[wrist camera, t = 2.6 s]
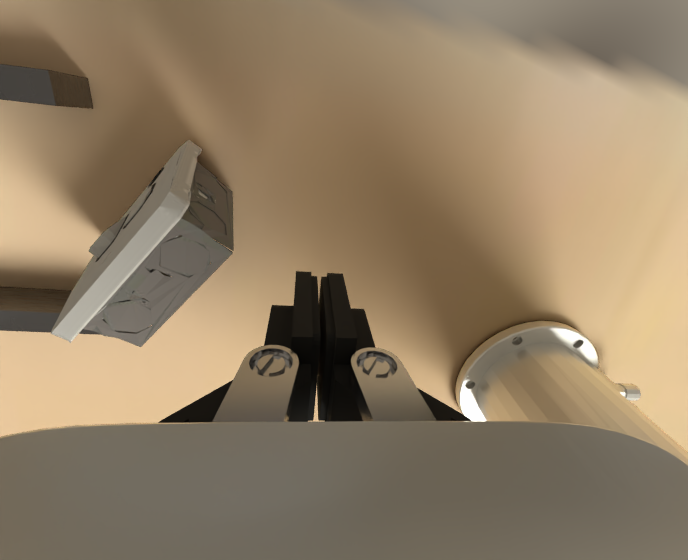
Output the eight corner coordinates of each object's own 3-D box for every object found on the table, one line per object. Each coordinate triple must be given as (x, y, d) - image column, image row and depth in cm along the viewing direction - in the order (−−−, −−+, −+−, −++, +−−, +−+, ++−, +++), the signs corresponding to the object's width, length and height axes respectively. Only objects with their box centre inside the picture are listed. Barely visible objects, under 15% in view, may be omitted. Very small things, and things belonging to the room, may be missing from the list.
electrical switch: (191, 134, 20) (125, 161, 12) (258, 195, 22) (241, 252, 14) (106, 238, 22) (2, 319, 14) (175, 283, 25) (118, 375, 16)
